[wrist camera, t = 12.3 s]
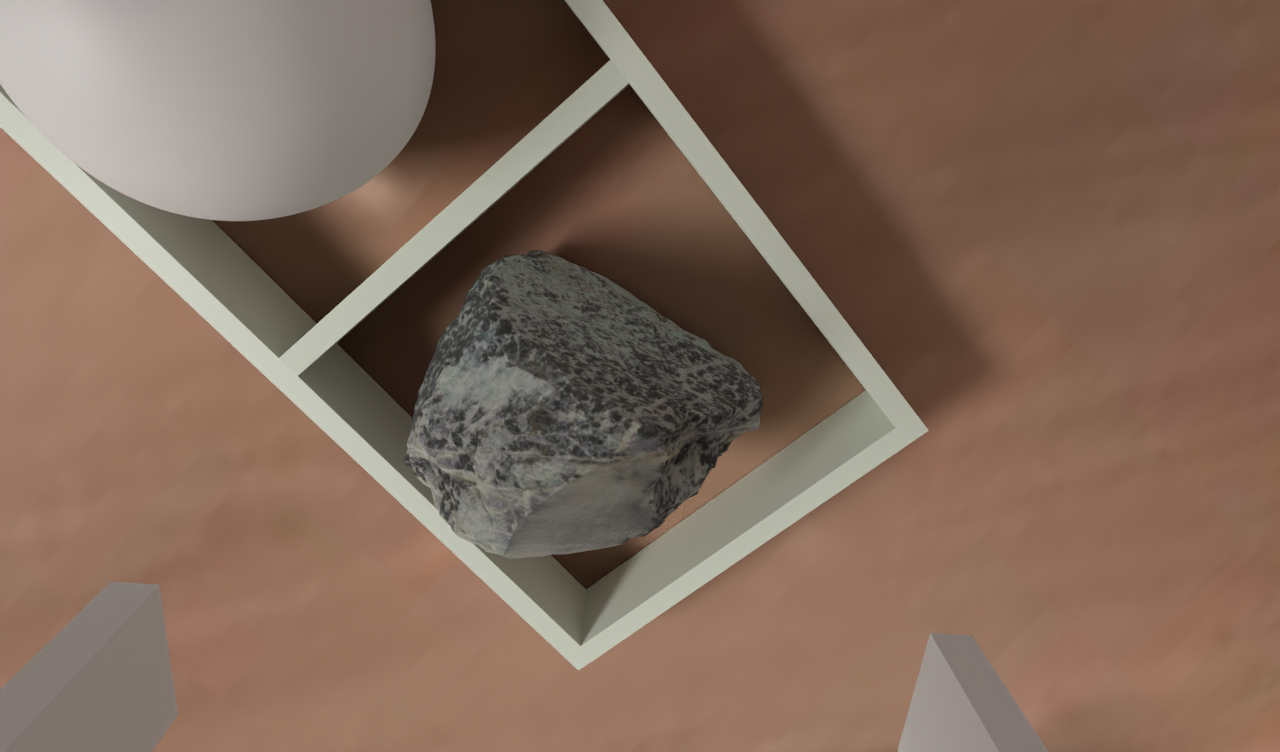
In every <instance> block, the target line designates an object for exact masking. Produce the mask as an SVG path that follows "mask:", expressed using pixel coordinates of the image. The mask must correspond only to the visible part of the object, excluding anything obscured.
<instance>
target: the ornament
mask: <svg viewBox="0 0 1280 752" xmlns="http://www.w3.org/2000/svg"><path fill="white" fill-rule="evenodd" d="M435 52H436V46H435V27H434V19H433V12H432V6H431V1H430V0H0V84H1V86H2V87H3V88H4V90H5V91H6V93H7V94H8V95H9V97H10V98H11V99H12V101H13V102H14V103H15V105H16V106H17V107H18V108H19V109H20V111H21V112H22V113H23V114H24V115H25V117H26V118H27V119H28V120H29V121H30V122H31V123H32V124H33V125H34V127H35V128H36V129H37V130H38V131H39V132H40V133H41V134H42V135H43V136H44V137H45V138H46V139H47V140H48V141H49V142H50V143H52V144H53V145H54V146H55V147H56V148H57V149H58V150H59V151H60V152H62V153H63V154H64V155H65V156H66V157H68V158H69V159H70V160H71V161H72V162H74V163H75V164H76V165H78V166H79V167H80V168H82V169H83V170H84V171H86V172H87V173H89V174H90V175H92V176H93V177H95V178H96V179H98V180H99V181H101V182H103V183H104V184H106V185H108V186H109V187H111V188H113V189H115V190H117V191H118V192H120V193H122V194H124V195H126V196H128V197H131V198H133V199H135V200H137V201H140V202H142V203H145V204H147V205H150V206H153V207H156V208H158V209H162V210H165V211H168V212H172V213H176V214H180V215H184V216H189V217H195V218H201V219H208V220H219V221H255V220H266V219H273V218H279V217H285V216H290V215H294V214H298V213H302V212H305V211H308V210H312V209H315V208H318V207H320V206H323V205H325V204H328V203H330V202H333V201H335V200H337V199H339V198H341V197H343V196H345V195H347V194H349V193H351V192H353V191H354V190H356V189H358V188H359V187H361V186H362V185H364V184H365V183H367V182H368V181H370V180H371V179H372V178H374V177H375V176H376V175H377V174H379V173H380V172H381V171H382V170H383V169H384V168H386V167H387V166H388V165H389V164H390V163H391V162H392V161H393V160H394V159H395V158H396V156H397V155H398V154H399V153H400V152H401V151H402V149H403V148H404V147H405V145H406V144H407V143H408V141H409V140H410V138H411V137H412V135H413V134H414V132H415V130H416V128H417V127H418V125H419V123H420V121H421V119H422V116H423V114H424V111H425V109H426V106H427V103H428V100H429V96H430V92H431V88H432V83H433V77H434V69H435Z"/></svg>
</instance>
